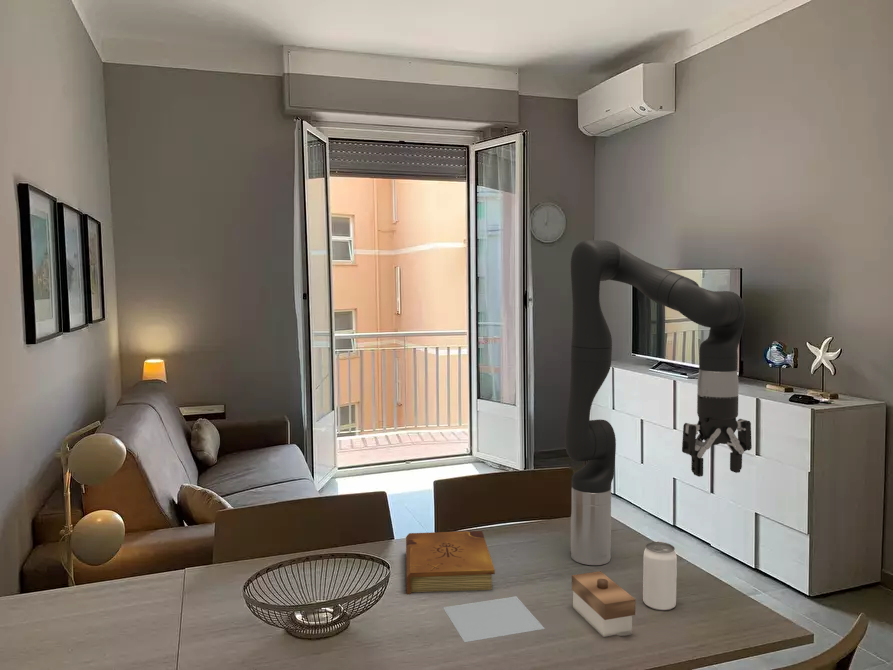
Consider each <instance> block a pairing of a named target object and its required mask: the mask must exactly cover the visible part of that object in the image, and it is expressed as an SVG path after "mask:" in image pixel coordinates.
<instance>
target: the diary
mask: <svg viewBox="0 0 893 670" xmlns="http://www.w3.org/2000/svg"><path fill="white" fill-rule="evenodd" d="M405 556H406V559H405V560H406V561H405V562H406V595H411V593H423V592H426V593H429V592H455V591H457V592H459V591H461V592H463V591H492V588H493V582H492V579H493V578H492V576H493V575H495V574H496V569H495V566H494V564H493V560H492V557H491V554H490V552H489V548H488V546H487V542H486V539H485V536H484V533H483V530H470V531H469V530H466V531H439V532H438V531H437V532H410V533H408V534H407V535H406V536H405Z"/></svg>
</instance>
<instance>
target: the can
mask: <svg viewBox="0 0 893 670" xmlns="http://www.w3.org/2000/svg"><path fill="white" fill-rule="evenodd" d="M675 549H676V548H675V546H674V545H672V544H670V543H667V542H664V541H650V542H647V543H646V544H645V549H644V551H643V559H642V560H643V563H642V565H643V567H642V568H643V569H642V570H643V571H642V572H643V573H642V574H643V575H642V577H643V579H642V585H643V586H642V601H643V603H644V604H645V605H646V606H647V607H648V608H650V609H653V610H657V611H670V610H672V609H674V608H675V607H676V606H677V568H678V567H677V566H678V565H677V564H678V563H677V561H678V560H677V558H678V557H677V556H678V555H677V554H676V553H677V552H675V551H676V550H675Z"/></svg>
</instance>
